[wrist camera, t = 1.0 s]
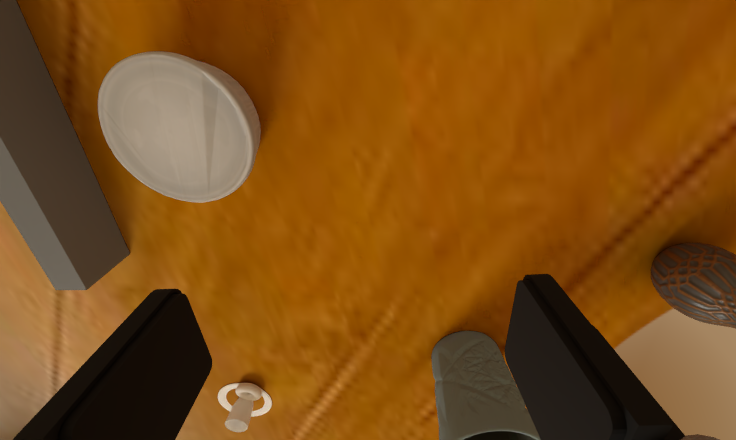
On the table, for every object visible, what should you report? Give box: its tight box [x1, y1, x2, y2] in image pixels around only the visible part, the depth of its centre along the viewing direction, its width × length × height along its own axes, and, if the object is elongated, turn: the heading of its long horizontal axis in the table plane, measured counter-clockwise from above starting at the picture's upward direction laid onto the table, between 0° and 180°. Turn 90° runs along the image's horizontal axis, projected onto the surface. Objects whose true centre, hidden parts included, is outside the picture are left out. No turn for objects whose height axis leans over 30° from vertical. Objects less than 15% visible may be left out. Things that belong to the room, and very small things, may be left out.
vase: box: [651, 243, 736, 328], centre depth 30 cm, size 7×7×9 cm
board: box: [0, 0, 130, 290], centre depth 26 cm, size 28×3×6 cm, turn 1°
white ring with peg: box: [218, 383, 272, 432], centre depth 46 cm, size 9×8×4 cm
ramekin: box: [98, 51, 261, 203], centre depth 26 cm, size 11×11×5 cm
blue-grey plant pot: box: [432, 331, 541, 440], centre depth 36 cm, size 10×10×12 cm
